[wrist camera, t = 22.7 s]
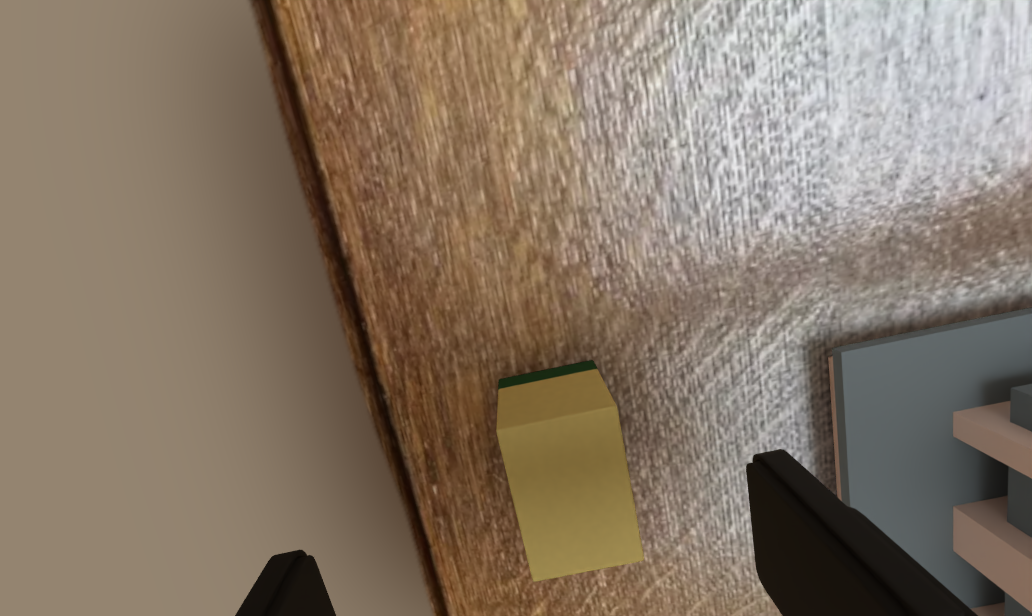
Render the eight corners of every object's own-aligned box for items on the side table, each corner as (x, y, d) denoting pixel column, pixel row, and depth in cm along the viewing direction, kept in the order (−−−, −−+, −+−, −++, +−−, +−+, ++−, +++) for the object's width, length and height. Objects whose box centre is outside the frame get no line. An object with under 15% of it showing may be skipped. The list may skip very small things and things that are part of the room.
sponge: (498, 379, 20) (495, 430, 15) (593, 359, 20) (617, 405, 15) (527, 503, 21) (532, 583, 17) (616, 485, 21) (645, 561, 17)
